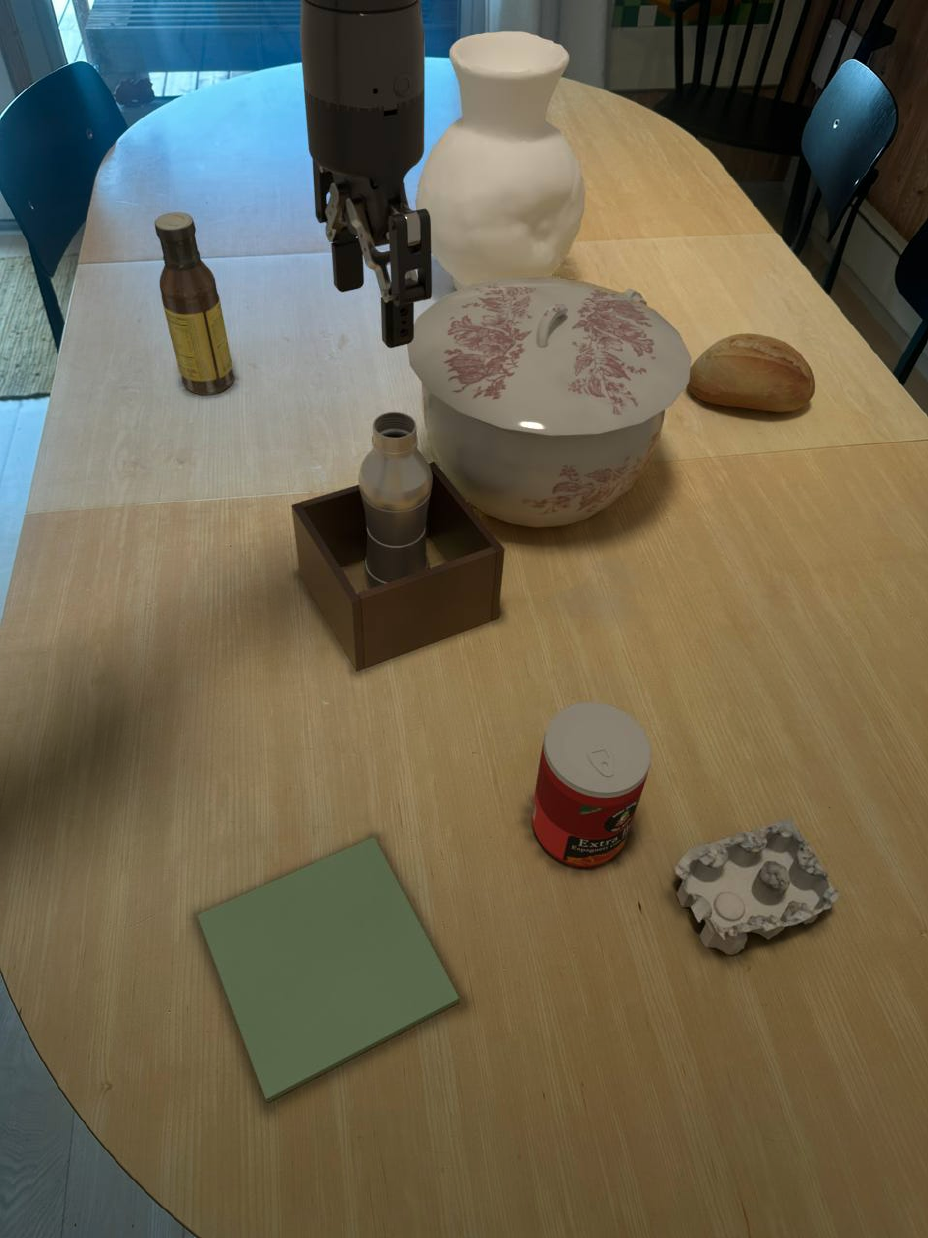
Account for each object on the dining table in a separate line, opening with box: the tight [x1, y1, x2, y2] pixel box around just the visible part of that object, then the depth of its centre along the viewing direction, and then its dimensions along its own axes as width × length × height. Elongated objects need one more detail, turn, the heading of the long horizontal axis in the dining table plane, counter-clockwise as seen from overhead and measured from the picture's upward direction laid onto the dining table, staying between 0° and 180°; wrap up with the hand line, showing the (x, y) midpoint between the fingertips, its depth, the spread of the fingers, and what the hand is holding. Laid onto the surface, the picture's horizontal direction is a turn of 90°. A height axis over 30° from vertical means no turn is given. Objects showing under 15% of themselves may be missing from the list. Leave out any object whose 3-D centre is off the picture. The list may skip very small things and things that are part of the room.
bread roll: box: [687, 332, 816, 413], centre depth 114 cm, size 10×15×8 cm, turn 80°
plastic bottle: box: [357, 411, 433, 591], centre depth 86 cm, size 6×7×20 cm
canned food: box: [531, 701, 652, 868], centre depth 73 cm, size 8×8×11 cm
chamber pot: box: [406, 276, 692, 529], centre depth 98 cm, size 28×28×21 cm
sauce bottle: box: [154, 211, 234, 396], centre depth 108 cm, size 6×6×20 cm
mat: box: [196, 836, 460, 1104], centre depth 68 cm, size 14×14×1 cm
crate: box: [291, 461, 506, 672], centre depth 90 cm, size 15×14×9 cm
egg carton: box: [674, 817, 841, 956], centre depth 72 cm, size 11×8×4 cm
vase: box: [414, 30, 586, 291], centre depth 122 cm, size 19×21×30 cm
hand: (373, 315), depth 72 cm, fingers open, 8 cm apart
